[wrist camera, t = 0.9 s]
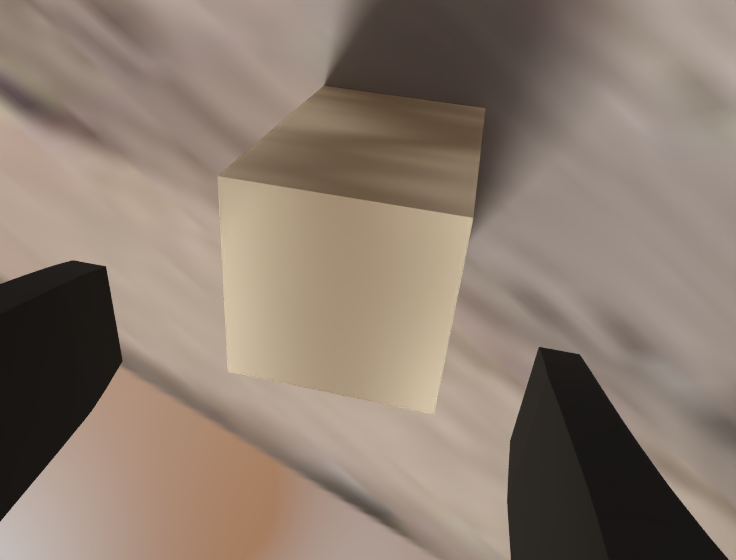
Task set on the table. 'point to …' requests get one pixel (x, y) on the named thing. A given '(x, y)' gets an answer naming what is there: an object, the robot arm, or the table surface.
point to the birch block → (350, 245)
